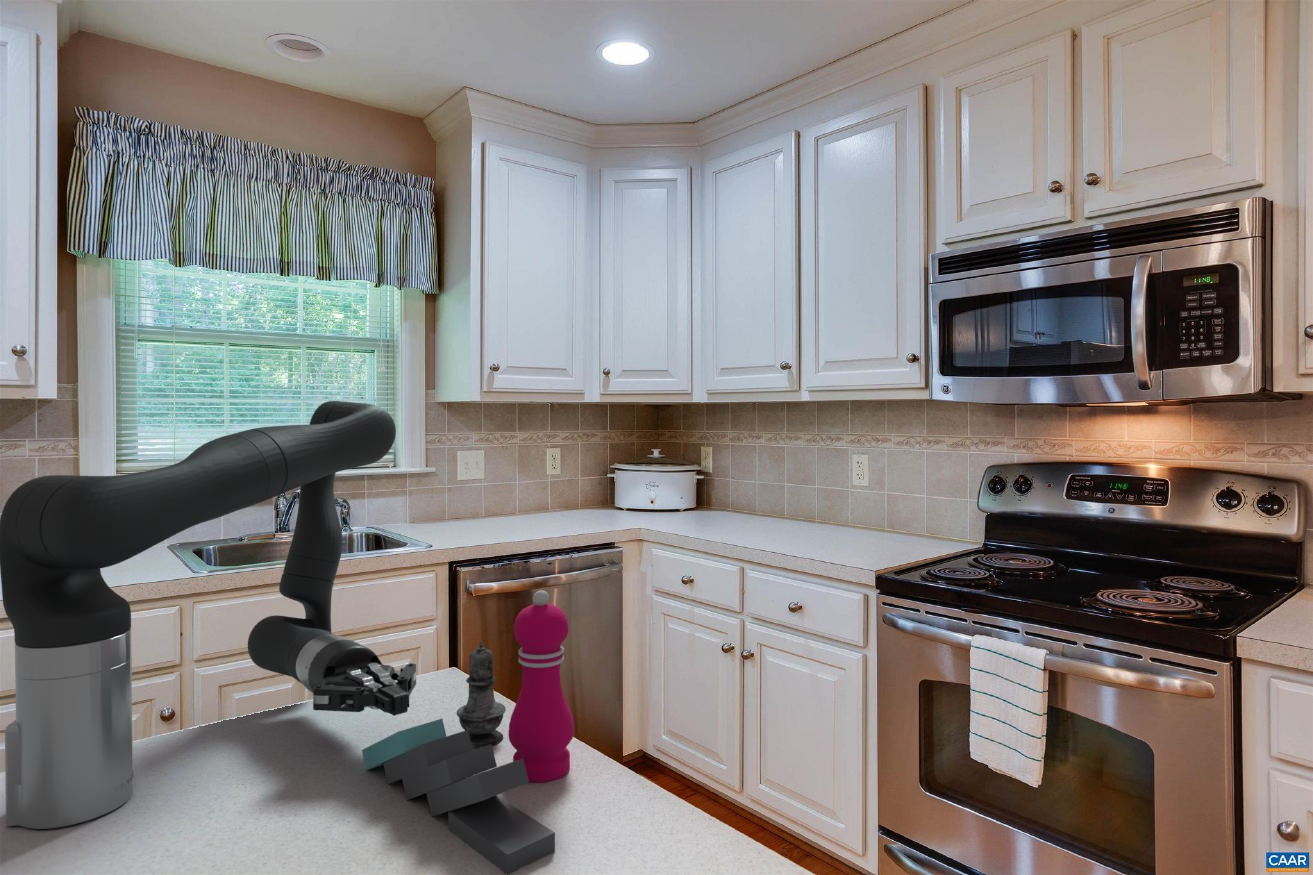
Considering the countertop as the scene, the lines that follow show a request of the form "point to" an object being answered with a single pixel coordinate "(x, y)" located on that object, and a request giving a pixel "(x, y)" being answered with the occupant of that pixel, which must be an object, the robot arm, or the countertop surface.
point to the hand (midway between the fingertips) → (401, 704)
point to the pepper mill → (541, 693)
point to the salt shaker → (481, 701)
